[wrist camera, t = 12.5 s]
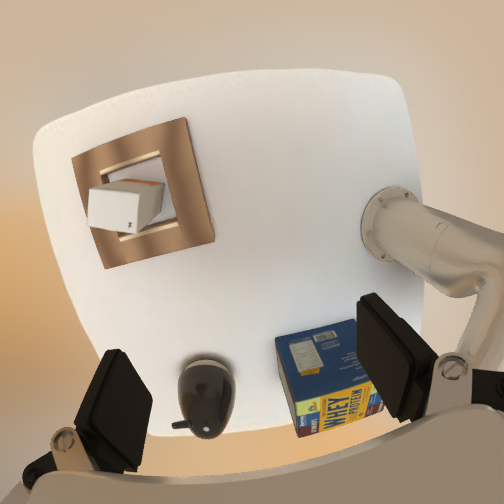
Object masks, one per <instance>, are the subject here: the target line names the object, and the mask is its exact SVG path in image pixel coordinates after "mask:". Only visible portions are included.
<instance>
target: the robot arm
mask: <svg viewBox="0 0 504 504" xmlns="http://www.w3.org/2000/svg"><path fill="white" fill-rule="evenodd" d="M361 234H362V239H363V242H364V245H365V247H366V248H367V250H368V251H369V252H370V253H371V254H372V255H373V256H374V257H376V258H377V259H379V260H382V261H395V260H397V261H398V262H400V263H401V264H403V265H404V266H405V267H407V268H408V269H410V270H411V271H413V272H414V273H415V274H417V275H418V276H420V277H421V278H422V279H424V280H425V281H427V282H428V283H429V284H431V285H432V286H433V287H435V288H436V289H438V290H439V291H440V292H442V293H443V294H445V295H447V296H449V297H453V298H463V297H467V296H471V295H474V294H477V300H476V303H475V306H474V309H473V312H472V315H471V317H470V319H469V322H468V324H467V326H466V328H465V330H464V333H463V335H462V337H461V339H460V341H459V343H458V346H457V348H456V350H455V352H451V353H446V354H443V355H441V356H440V357H439V356H438V355H437V354H436V353H435V352H434V351H433V350H432V349H431V348H430V346H429V345H428V344H427V343H426V342H425V341H424V340H423V339H422V338H421V337H420V336H419V335H418V334H417V332H416V331H415V330H414V329H413V328H412V327H411V326H410V325H409V324H408V323H407V322H406V321H405V320H404V319H403V318H400V317H399V316H398V315H397V314H396V313H395V312H394V311H393V310H392V309H391V308H390V307H389V306H388V305H387V304H386V303H385V302H384V301H383V300H382V299H381V298H380V297H379V296H378V295H377V294H376V293H370V294H367V295H364V296H361V298H360V301H358V302H357V336H356V355H357V358H358V360H359V362H360V364H361V365H362V367H363V369H364V370H365V372H366V374H367V375H368V377H369V379H370V380H371V382H372V384H373V385H374V387H375V389H376V390H377V392H378V394H379V395H380V397H381V399H382V401H383V402H384V404H385V406H386V407H387V409H388V411H389V413H390V414H391V416H392V417H393V418H396V417H397V418H398V420H399V422H400V423H401V422H404V421H405V420H408V419H410V421H411V423H409V424H407V425H405V426H403V427H400V428H398V429H395V430H393V431H391V432H389V433H386V434H384V435H381V436H379V437H376V438H374V439H371V440H369V441H366V442H363V443H360V444H358V445H355V446H352V447H349V448H346V449H343V450H340V451H337V452H334V453H331V454H328V455H324V456H321V457H317V458H314V459H309V460H305V461H302V462H297V463H293V464H288V465H284V466H279V467H274V468H268V469H262V470H256V471H250V472H242V473H234V474H225V475H211V476H191V477H160V476H158V477H157V476H140V475H128V474H124V470H125V471H128V472H137V469H138V466H140V465H141V461H142V455H143V449H144V444H145V438H146V433H147V427H148V422H149V417H150V412H151V407H152V402H153V399H152V395H151V394H150V392H149V391H148V389H147V388H146V386H145V384H144V383H143V381H142V380H141V378H140V377H139V375H138V373H137V372H136V370H135V368H134V367H133V365H132V363H131V362H130V360H129V358H128V356H127V355H126V353H125V352H122V351H121V350H120V349H112V350H107V351H106V352H105V354H104V356H103V358H102V360H101V362H100V364H99V366H98V368H97V370H96V372H95V374H94V377H93V379H92V381H91V383H90V385H89V388H88V390H87V392H86V394H85V397H84V399H83V401H82V404H81V406H80V408H79V411H78V413H77V416H76V418H75V421H74V424H75V425H76V429H73V428H71V427H64V428H61V429H59V430H58V431H56V433H55V434H54V435H53V437H52V439H51V443H50V445H51V450H52V451H50V452H48V453H47V454H45V455H44V456H42V457H40V458H39V459H37V460H35V461H34V462H32V463H30V464H29V465H28V466H27V467H26V468H25V469H24V472H23V476H22V479H23V483H22V482H21V481H20V482H19V483H18V484H17V485H16V486H15V487H14V488H13V490H12V491H11V492H10V493H9V494H8V495H7V496H6V497H5V498H4V499H3V501H2V502H1V504H504V234H503V233H500V232H496V231H493V230H491V229H488V228H485V227H482V226H480V225H477V224H474V223H472V222H469V221H467V220H464V219H461V218H459V217H456V216H453V215H451V214H448V213H445V212H443V211H440V210H437V209H434V208H431V207H428V206H425V205H422V204H419V202H418V201H417V199H416V198H415V196H414V195H413V194H412V193H411V192H409V191H408V190H406V189H403V188H399V187H390V188H386V189H384V190H382V191H380V192H379V193H377V194H376V195H375V196H374V197H373V198H372V199H371V201H370V202H369V204H368V205H367V207H366V209H365V211H364V215H363V218H362V225H361Z"/></svg>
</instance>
